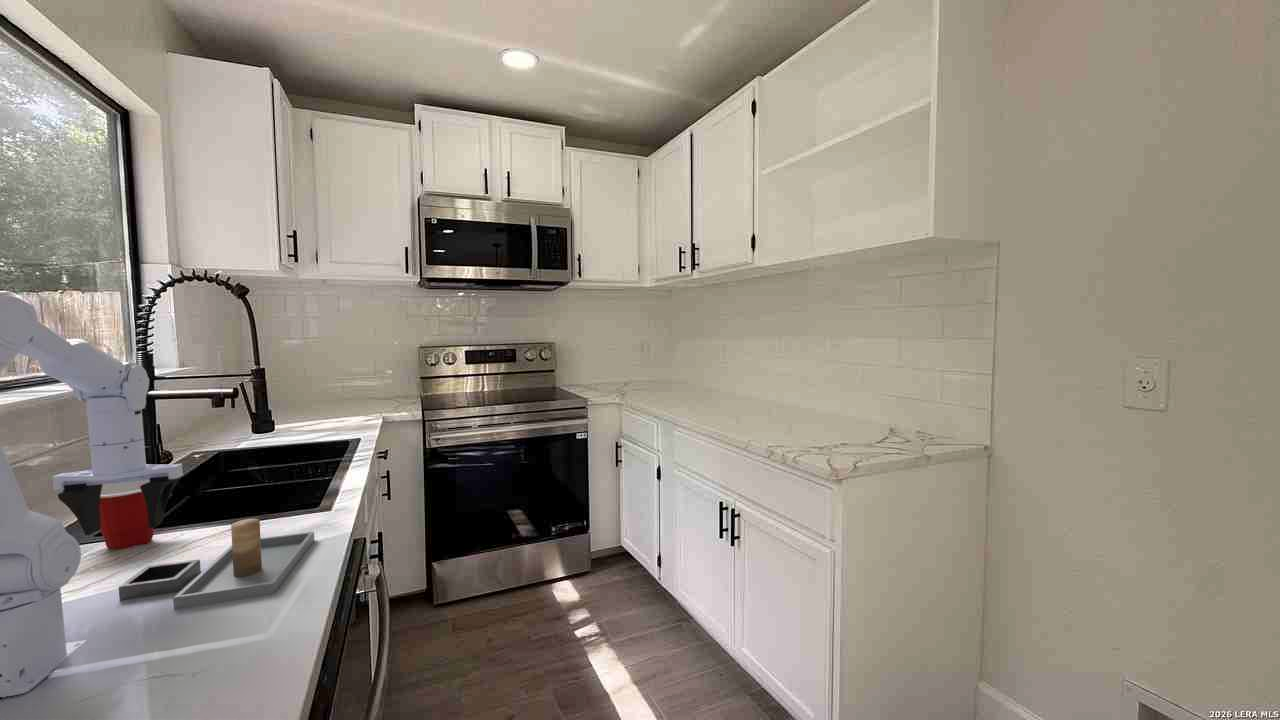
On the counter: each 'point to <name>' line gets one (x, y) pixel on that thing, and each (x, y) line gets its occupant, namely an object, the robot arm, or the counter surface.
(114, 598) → the counter surface
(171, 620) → the counter surface
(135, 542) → the plastic cup
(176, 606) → the slate tray
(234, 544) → the oak dowel
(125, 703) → the counter surface
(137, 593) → the pin holder
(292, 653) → the counter surface
